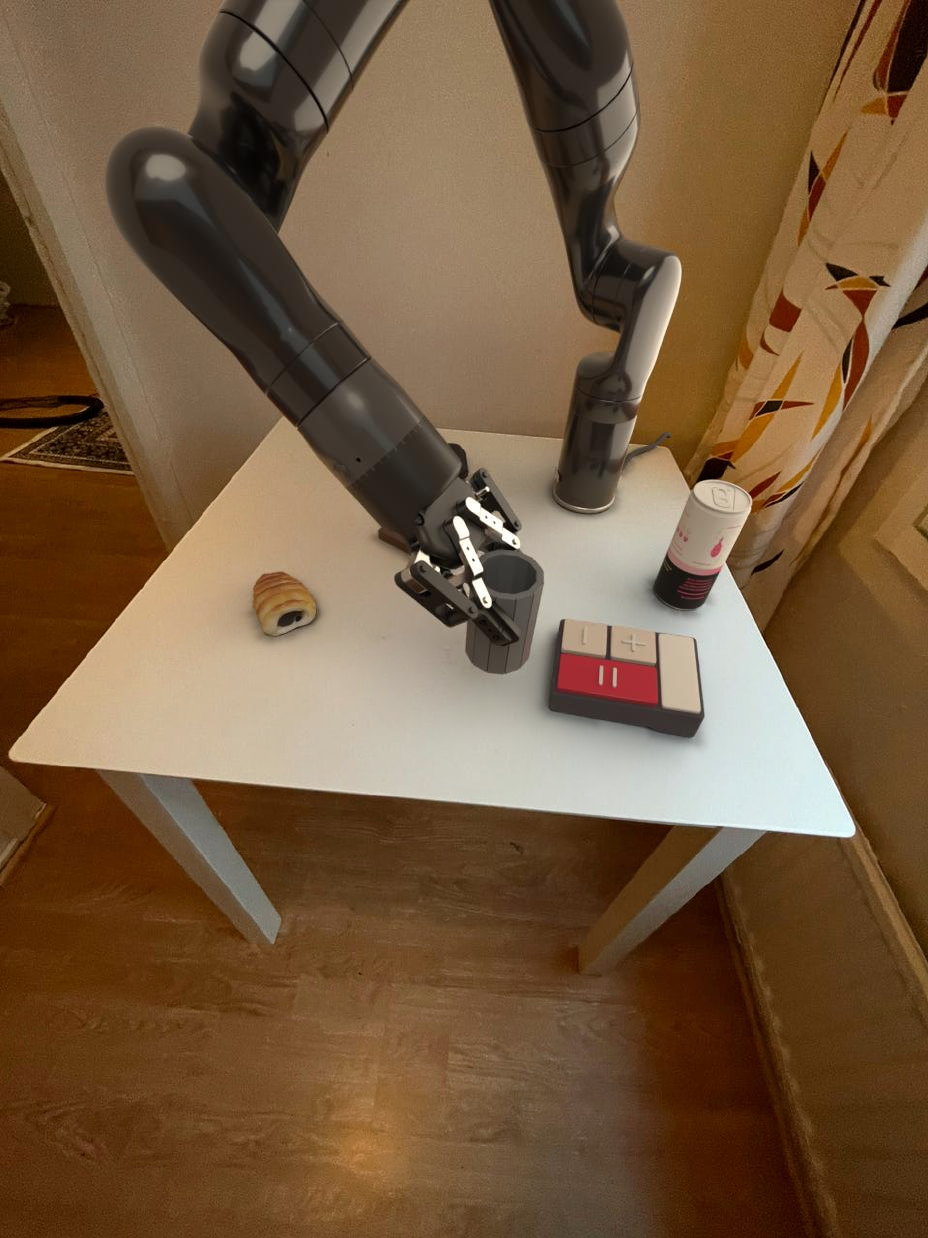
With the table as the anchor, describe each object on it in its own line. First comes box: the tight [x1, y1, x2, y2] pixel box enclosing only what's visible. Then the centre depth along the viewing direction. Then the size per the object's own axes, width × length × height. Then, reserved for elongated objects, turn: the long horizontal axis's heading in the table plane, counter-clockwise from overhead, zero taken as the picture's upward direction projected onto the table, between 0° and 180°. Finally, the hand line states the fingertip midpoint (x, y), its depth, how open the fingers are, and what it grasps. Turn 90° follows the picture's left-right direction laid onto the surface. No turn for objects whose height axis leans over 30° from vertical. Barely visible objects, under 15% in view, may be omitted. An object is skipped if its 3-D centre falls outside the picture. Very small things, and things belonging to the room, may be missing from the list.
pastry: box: [252, 571, 317, 637], centre depth 66 cm, size 9×7×4 cm
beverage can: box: [653, 479, 753, 611], centre depth 67 cm, size 7×7×15 cm
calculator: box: [548, 618, 706, 738], centre depth 60 cm, size 11×4×15 cm
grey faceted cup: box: [464, 550, 545, 676], centre depth 46 cm, size 6×6×9 cm
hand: (523, 612), depth 45 cm, fingers closed on grey faceted cup, 5 cm apart
